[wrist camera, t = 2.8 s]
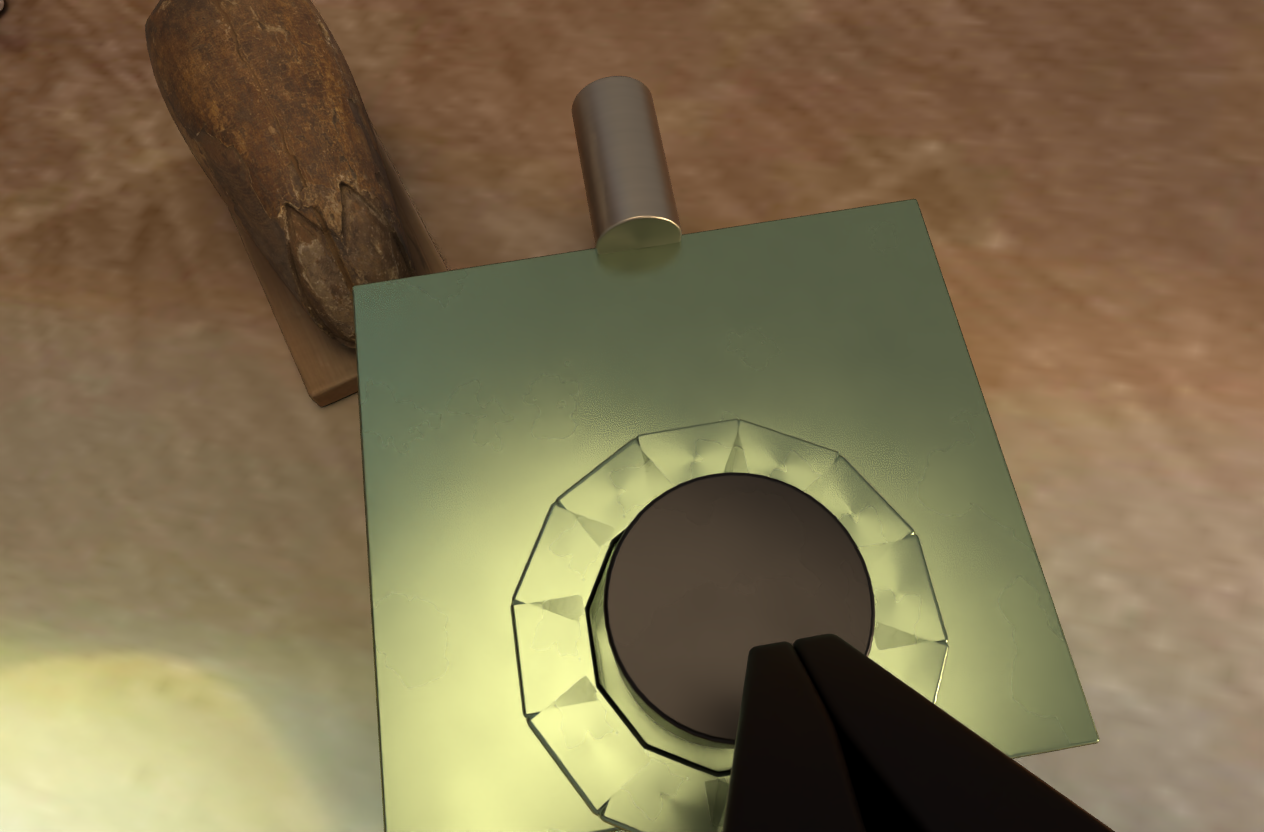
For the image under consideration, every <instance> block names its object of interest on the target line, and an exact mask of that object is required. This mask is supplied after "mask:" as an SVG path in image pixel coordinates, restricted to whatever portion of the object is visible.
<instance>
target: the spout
mask: <svg viewBox="0 0 1264 832" xmlns="http://www.w3.org/2000/svg"><path fill="white" fill-rule="evenodd" d="M572 117H573V122H574V128H575V133H576V139H577V145H578V150H579V156H580V162H581V167H582V173H583V179H584V184H585V190H586V196H587V201H588V207H589V212H590V218H591V224H592V229H593V235H594V241H595V246H596V251H597V253H598V254H607V253H613V252H619V251H626V250H632V249H639V248H645V247H652V246H658V245H665V244H671V243H678V242H680V240H681V236H682V231H681V226H680V222H679V217H678V212H677V208H676V203H675V199H674V194H673V190H672V185H671V181H670V176H669V172H668V167H667V162H666V158H665V153H664V149H663V144H662V140H661V135H660V131H659V126H658V122H657V117H656V112H655V108H654V103H653V99H652V95H651V93H650V91H649V89H648V88H647V87H646V86H645V85H644V84H643V83H642V82H640V81H638V80H636V79H633V78H630V77H625V76H612V77H606V78H602V79H599V80H597V81H594V82H592V83H590V84H589V85H587V86H586V87H585V88H583V89H582V90H581V91H580V92H579V93H578V95H577V96H576V98H575V100H574V102H573V105H572Z"/></svg>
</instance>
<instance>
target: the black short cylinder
mask: <svg viewBox="0 0 1264 832" xmlns="http://www.w3.org/2000/svg"><path fill="white" fill-rule="evenodd" d="M603 610H604V621H605V628H606V632H607V637H608V641H609V645H610V648H611V651H612V654H613V656H614V659H615V662H616V665H617V668H618V671H619V673H620V676H621V678H622V680H623V682H624V684H625V686H626V688H627V690H628V691H629V692H630V694H631V695H632V697H633V698H634V700H635V701H636V703H637V704H638V705H639V706H640V707H641V708H642V709H643V710H644V712H645V713H646V714H647V715H648V716H649V717H651V718H652V719H653V720H654V721H655V722H656V723H658V724H659V725H660V726H662V727H663V728H665V729H666V730H668V731H669V732H671V733H672V734H674V735H676V736H678V737H681V738H683V739H685V740H687V741H690V742H693V743H696V744H699V745H702V746H708V747H714V748H723V749H734V748H735V741H736V734H737V728H738V721H739V714H740V708H741V701H742V694H743V688H744V681H745V674H746V667H747V661H748V654H749V651H750V649H752V648H753V647H755V646H760V645H766V644H771V643H777V642H783V641H786V642H789V643H791V644H792V645H793V643H794V642H795V641H796V640H797V639H800V638H806V637H811V636H817V635H823V634H834V635H837V636H839V637H840V638H842V639H843V640H845V641H846V642H847V643H849V644H850V645H852V646H853V647H854V648H856V649H857V650H859V651H860V652H862V653H863V654H864V655H866V656H867V657H869V654H870V651H871V646H872V641H873V636H874V630H875V600H874V592H873V587H872V582H871V578H870V575H869V572H868V569H867V566H866V563H865V560H864V558H863V556H862V554H861V552H860V550H859V548H858V546H857V544H856V543H855V541H854V540H853V538H852V537H851V535H850V533H849V532H848V530H847V529H846V528H845V527H844V526H843V524H842V523H841V522H840V521H839V520H838V518H837V517H836V516H835V515H834V514H833V513H832V512H831V511H829V510H828V509H827V508H826V507H825V506H824V505H823V504H822V503H820V502H819V501H817V500H816V499H815V498H813V497H812V496H811V495H809V494H807V493H806V492H804V491H802V490H800V489H799V488H797V487H795V486H793V485H790V484H788V483H786V482H783V481H781V480H778V479H775V478H771V477H767V476H764V475H758V474H751V473H741V472H726V473H716V474H709V475H705V476H701V477H696V478H693V479H691V480H688V481H685V482H683V483H680V484H678V485H676V486H674V487H672V488H670V489H669V490H667V491H665V492H663V493H662V494H661V495H659V496H658V497H656V498H655V499H653V500H652V501H651V502H650V503H649V504H648V505H647V506H645V507H644V508H643V509H642V510H641V511H640V512H639V513H638V514H637V515H636V517H635V518H634V519H633V520H632V521H631V523H630V524H629V525H628V527H627V528H626V530H625V531H624V533H623V534H622V536H621V538H620V539H619V541H618V543H617V546H616V548H615V550H614V552H613V554H612V557H611V560H610V563H609V567H608V570H607V574H606V580H605V586H604V599H603Z"/></svg>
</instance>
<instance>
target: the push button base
mask: <svg viewBox="0 0 1264 832" xmlns="http://www.w3.org/2000/svg"><path fill="white" fill-rule="evenodd" d="M352 298H353V315H354V332H355V349H356V366H357V382H358V399H359V416H360V433H361V450H362V467H363V484H364V501H365V517H366V534H367V551H368V568H369V585H370V602H371V619H372V635H373V652H374V669H375V686H376V703H377V720H378V737H379V754H380V770H381V787H382V804H383V821H384V832H615V831H620V830H624V831H627V832H722V828H723V821H724V815H725V808H726V801H727V795H728V788H729V781H730V775H731V768H732V761H733V755H734V749H723V748H714V747H708V746H702V745H699V744H696V743H693V742H690V741H687V740H685V739H683V738H681V737H678V736H676V735H674V734H672V733H671V732H669V731H668V730H666V729H665V728H663V727H662V726H660V725H659V724H658V723H656V722H655V721H654V720H653V719H652V718H651V717H649V716H648V715H647V714H646V713H645V712H644V710H643V709H642V708H641V707H640V706H639V705H638V704H637V703H636V701H635V700H634V698H633V697H632V695H631V694H630V692H629V691H628V690H627V688H626V686H625V684H624V682H623V680H622V678H621V676H620V673H619V671H618V668H617V665H616V662H615V659H614V656H613V654H612V651H611V648H610V645H609V641H608V637H607V632H606V628H605V621H604V610H603V599H604V586H605V580H606V574H607V570H608V567H609V563H610V560H611V557H612V554H613V552H614V550H615V548H616V546H617V543H618V541H619V539H620V538H621V536H622V534H623V533H624V531H625V530H626V528H627V527H628V525H629V524H630V523H631V521H632V520H633V519H634V518H635V517H636V515H637V514H638V513H639V512H640V511H641V510H642V509H643V508H644V507H645V506H647V505H648V504H649V503H650V502H651V501H652V500H653V499H655V498H656V497H658V496H659V495H661V494H662V493H663V492H665V491H667V490H669V489H670V488H672V487H674V486H676V485H678V484H680V483H683V482H685V481H688V480H691V479H693V478H696V477H701V476H705V475H709V474H716V473H726V472H741V473H751V474H758V475H764V476H767V477H771V478H775V479H778V480H781V481H783V482H786V483H788V484H790V485H793V486H795V487H797V488H799V489H800V490H802V491H804V492H806V493H807V494H809V495H811V496H812V497H813V498H815V499H816V500H817V501H819V502H820V503H822V504H823V505H824V506H825V507H826V508H827V509H828V510H829V511H831V512H832V513H833V514H834V515H835V516H836V517H837V518H838V520H839V521H840V522H841V523H842V524H843V526H844V527H845V528H846V529H847V530H848V532H849V533H850V535H851V537H852V538H853V540H854V541H855V543H856V544H857V546H858V548H859V550H860V552H861V554H862V556H863V558H864V560H865V563H866V566H867V569H868V572H869V575H870V578H871V582H872V587H873V592H874V600H875V630H874V636H873V641H872V646H871V651H870V654H869V658H870V659H871V660H873V661H874V662H876V663H877V664H879V665H880V666H881V667H883V668H884V669H886V670H887V671H888V672H890V673H891V674H893V675H894V676H896V677H897V678H898V679H900V680H901V681H903V682H904V683H905V684H907V685H908V686H910V687H911V688H912V689H914V690H915V691H917V692H918V693H920V694H921V695H922V696H924V697H925V698H927V699H928V700H929V701H931V702H932V703H934V704H935V705H937V706H938V707H939V708H941V709H942V710H944V711H945V712H946V713H948V714H949V715H951V716H952V717H954V718H955V719H956V720H958V721H959V722H961V723H962V724H963V725H965V726H966V727H968V728H969V729H970V730H972V731H973V732H975V733H976V734H978V735H979V736H980V737H982V738H983V739H985V740H986V741H987V742H989V743H990V744H992V745H993V746H995V747H996V748H997V749H999V750H1000V751H1002V752H1003V753H1004V754H1006V755H1007V756H1009V757H1010V758H1011V759H1014V758H1019V757H1025V756H1030V755H1036V754H1041V753H1047V752H1052V751H1058V750H1063V749H1069V748H1074V747H1080V746H1085V745H1091V744H1096V743H1098V742H1099V736H1098V733H1097V730H1096V727H1095V725H1094V722H1093V719H1092V716H1091V713H1090V710H1089V707H1088V704H1087V701H1086V698H1085V695H1084V692H1083V689H1082V686H1081V683H1080V680H1079V677H1078V674H1077V671H1076V668H1075V665H1074V662H1073V660H1072V657H1071V654H1070V651H1069V648H1068V645H1067V642H1066V639H1065V636H1064V633H1063V630H1062V627H1061V624H1060V621H1059V618H1058V615H1057V612H1056V609H1055V606H1054V603H1053V600H1052V598H1051V595H1050V592H1049V589H1048V586H1047V583H1046V580H1045V577H1044V574H1043V571H1042V568H1041V565H1040V562H1039V559H1038V556H1037V553H1036V550H1035V547H1034V544H1033V541H1032V538H1031V535H1030V533H1029V530H1028V527H1027V524H1026V521H1025V518H1024V515H1023V512H1022V509H1021V506H1020V503H1019V500H1018V497H1017V494H1016V491H1015V488H1014V485H1013V482H1012V479H1011V476H1010V473H1009V471H1008V468H1007V465H1006V462H1005V459H1004V456H1003V453H1002V450H1001V447H1000V444H999V441H998V438H997V435H996V432H995V429H994V426H993V423H992V420H991V417H990V414H989V411H988V408H987V406H986V403H985V400H984V397H983V394H982V391H981V388H980V385H979V382H978V379H977V376H976V373H975V370H974V367H973V364H972V361H971V358H970V355H969V352H968V349H967V346H966V344H965V341H964V338H963V335H962V332H961V329H960V326H959V323H958V320H957V317H956V314H955V311H954V308H953V305H952V302H951V299H950V296H949V293H948V290H947V287H946V284H945V281H944V279H943V276H942V273H941V270H940V267H939V264H938V261H937V258H936V255H935V252H934V249H933V246H932V243H931V240H930V237H929V234H928V231H927V228H926V225H925V222H924V219H923V217H922V214H921V211H920V208H919V205H918V202H917V200H916V199H910V200H904V201H897V202H891V203H884V204H878V205H871V206H865V207H858V208H852V209H845V210H839V211H832V212H826V213H819V214H813V215H807V216H800V217H794V218H787V219H781V220H774V221H768V222H761V223H755V224H748V225H742V226H735V227H729V228H722V229H716V230H709V231H703V232H697V233H690V234H684V235H682V236H681V240H680V242H678V243H671V244H665V245H658V246H652V247H645V248H639V249H632V250H626V251H619V252H613V253H607V254H598V253H597V251H596V248H593V249H587V250H580V251H574V252H567V253H561V254H554V255H548V256H541V257H535V258H528V259H522V260H515V261H509V262H502V263H496V264H489V265H483V266H477V267H470V268H464V269H457V270H451V271H444V272H438V273H431V274H425V275H418V276H412V277H405V278H399V279H392V280H386V281H379V282H373V283H367V284H360V285H354V286H353V287H352Z"/></svg>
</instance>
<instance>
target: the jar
mask: <svg viewBox="0 0 1264 832" xmlns="http://www.w3.org/2000/svg"><path fill="white" fill-rule="evenodd" d="M3 7H4V0H0V11H1V10H2V9H3Z"/></svg>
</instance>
